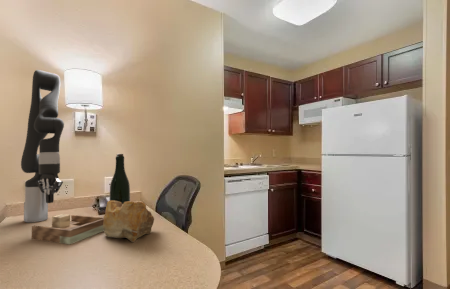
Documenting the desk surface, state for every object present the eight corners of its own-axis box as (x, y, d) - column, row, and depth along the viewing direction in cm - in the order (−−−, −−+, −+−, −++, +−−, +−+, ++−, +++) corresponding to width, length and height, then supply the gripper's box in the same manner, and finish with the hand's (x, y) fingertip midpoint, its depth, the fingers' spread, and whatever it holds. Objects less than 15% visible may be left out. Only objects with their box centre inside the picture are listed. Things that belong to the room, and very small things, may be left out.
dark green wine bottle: (133, 214, 131) (133, 153, 132) (114, 218, 123) (114, 153, 124) (124, 211, 137) (124, 153, 139) (105, 215, 130) (106, 153, 131)
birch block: (51, 227, 100) (52, 216, 100) (62, 224, 104) (62, 214, 105) (59, 228, 99) (60, 217, 99) (70, 225, 103) (70, 214, 103)
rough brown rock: (168, 238, 95) (169, 199, 97) (129, 247, 82) (132, 203, 84) (135, 229, 110) (137, 195, 112) (98, 236, 97) (100, 198, 99)
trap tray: (31, 239, 94) (31, 226, 94) (73, 225, 111) (73, 214, 111) (69, 244, 88) (70, 230, 88) (107, 229, 105) (107, 217, 105)
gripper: (29, 163, 103) (29, 204, 103) (52, 163, 100) (52, 205, 99) (47, 162, 111) (47, 200, 110) (68, 162, 107) (69, 201, 106)
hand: (49, 202), depth 104 cm, fingers closed
